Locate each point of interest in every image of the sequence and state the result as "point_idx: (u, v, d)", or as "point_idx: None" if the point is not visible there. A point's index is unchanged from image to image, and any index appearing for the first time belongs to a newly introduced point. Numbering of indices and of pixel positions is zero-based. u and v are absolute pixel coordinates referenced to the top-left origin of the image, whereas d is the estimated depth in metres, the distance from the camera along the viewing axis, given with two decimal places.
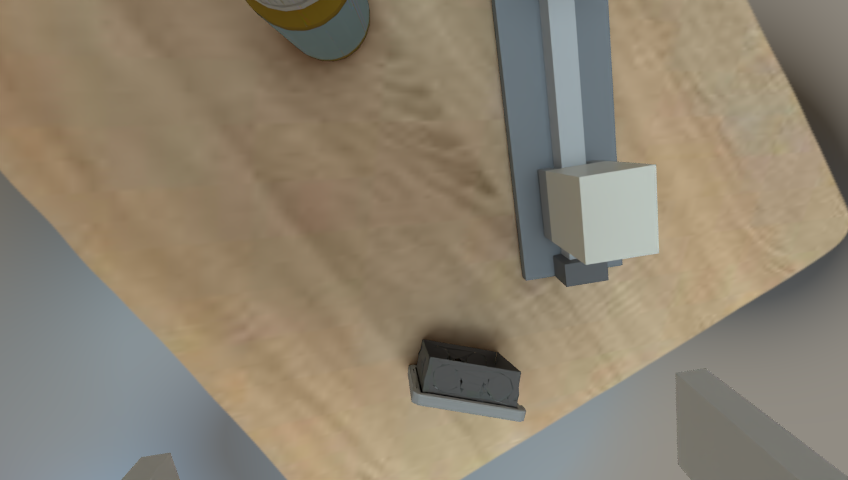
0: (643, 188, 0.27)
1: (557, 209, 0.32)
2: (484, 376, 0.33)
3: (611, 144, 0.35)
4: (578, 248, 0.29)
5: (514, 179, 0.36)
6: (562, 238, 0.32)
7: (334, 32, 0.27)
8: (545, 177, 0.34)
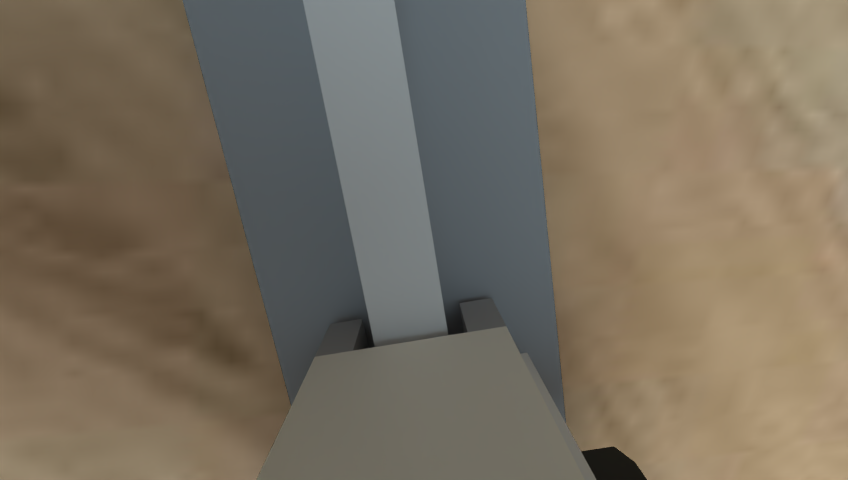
0: None
1: None
2: None
3: (537, 252, 0.13)
4: None
5: None
6: None
7: None
8: None
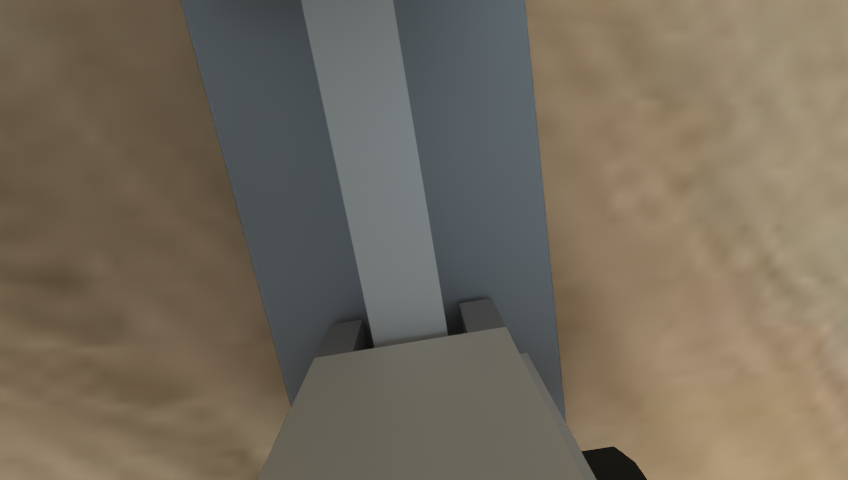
0: None
1: None
2: None
3: None
4: None
5: None
6: None
7: None
8: None
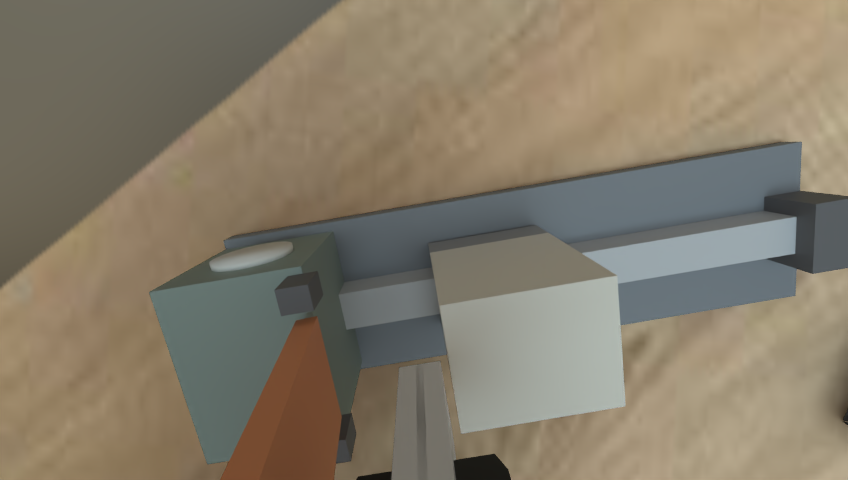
0: (484, 322, 0.14)
1: None
2: None
3: (601, 183, 0.22)
4: None
5: None
6: None
7: None
8: None
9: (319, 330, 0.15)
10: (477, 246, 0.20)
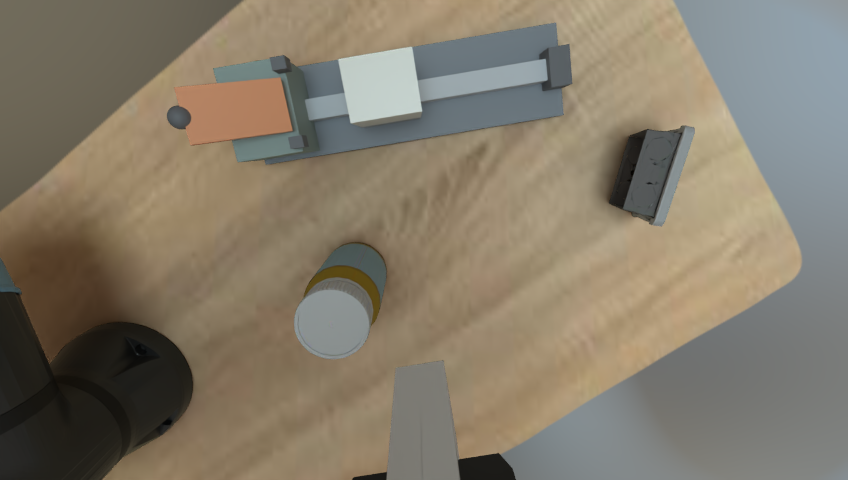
0: (357, 67, 0.33)
1: (388, 121, 0.38)
2: (647, 162, 0.38)
3: (448, 45, 0.41)
4: (411, 114, 0.35)
5: None
6: (411, 116, 0.38)
7: (376, 275, 0.40)
8: (366, 126, 0.41)
9: (279, 83, 0.34)
10: None
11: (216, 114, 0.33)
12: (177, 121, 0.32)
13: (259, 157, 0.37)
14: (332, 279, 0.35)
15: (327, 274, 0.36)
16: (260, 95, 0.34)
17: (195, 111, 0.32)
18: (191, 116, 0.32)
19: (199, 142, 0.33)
